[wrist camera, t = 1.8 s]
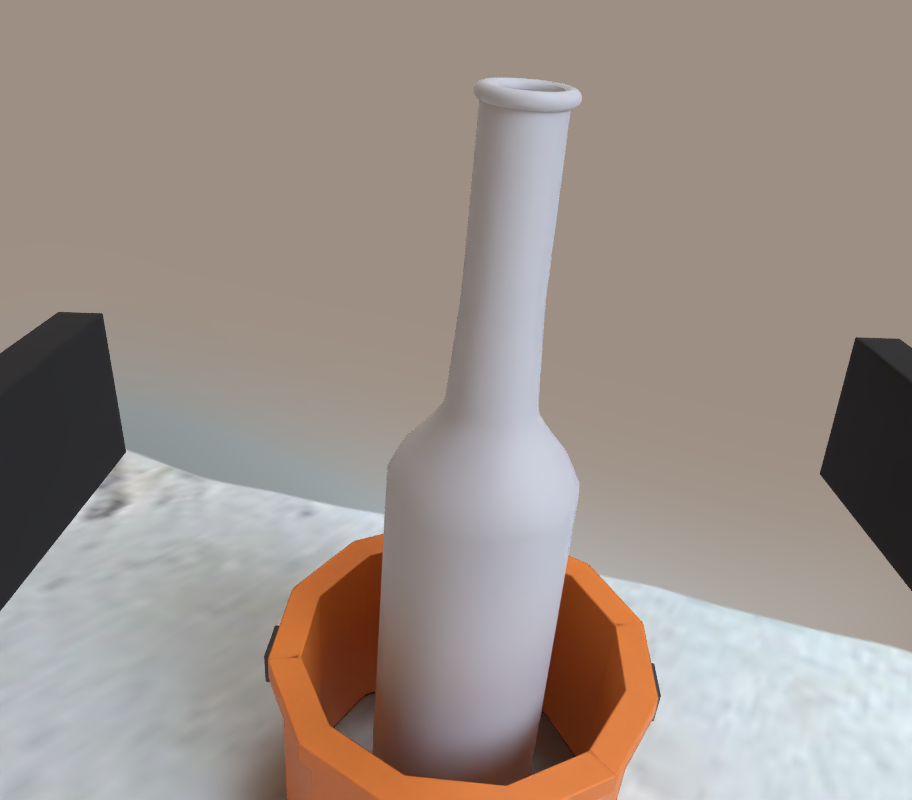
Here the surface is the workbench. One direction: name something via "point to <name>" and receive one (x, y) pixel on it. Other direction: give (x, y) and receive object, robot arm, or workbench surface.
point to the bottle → (483, 481)
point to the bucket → (354, 674)
